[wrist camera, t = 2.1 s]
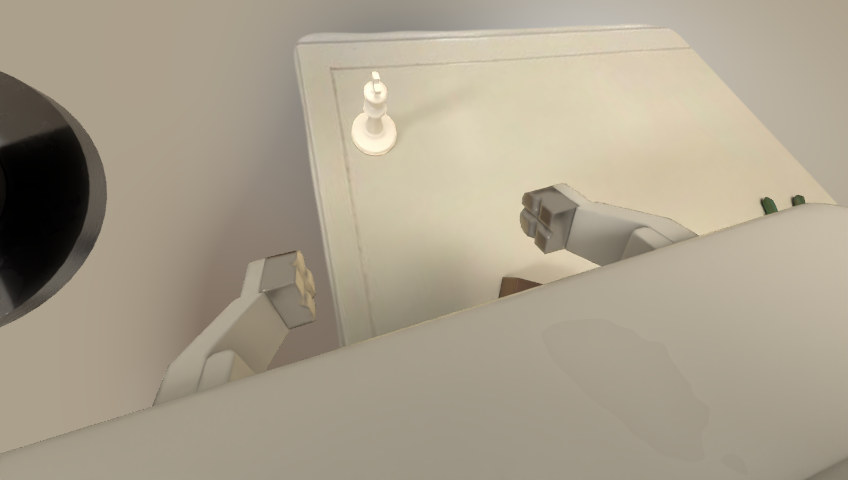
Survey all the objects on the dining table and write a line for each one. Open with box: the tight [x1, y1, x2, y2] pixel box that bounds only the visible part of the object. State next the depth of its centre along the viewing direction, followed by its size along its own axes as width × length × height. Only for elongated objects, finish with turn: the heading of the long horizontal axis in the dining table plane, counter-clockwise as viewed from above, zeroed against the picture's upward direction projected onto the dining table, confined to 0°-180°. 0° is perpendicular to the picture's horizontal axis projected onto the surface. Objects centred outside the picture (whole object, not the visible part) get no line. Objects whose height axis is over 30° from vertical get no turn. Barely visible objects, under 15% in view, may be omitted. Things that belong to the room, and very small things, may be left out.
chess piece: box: [351, 71, 397, 155], centre depth 28 cm, size 5×5×10 cm
